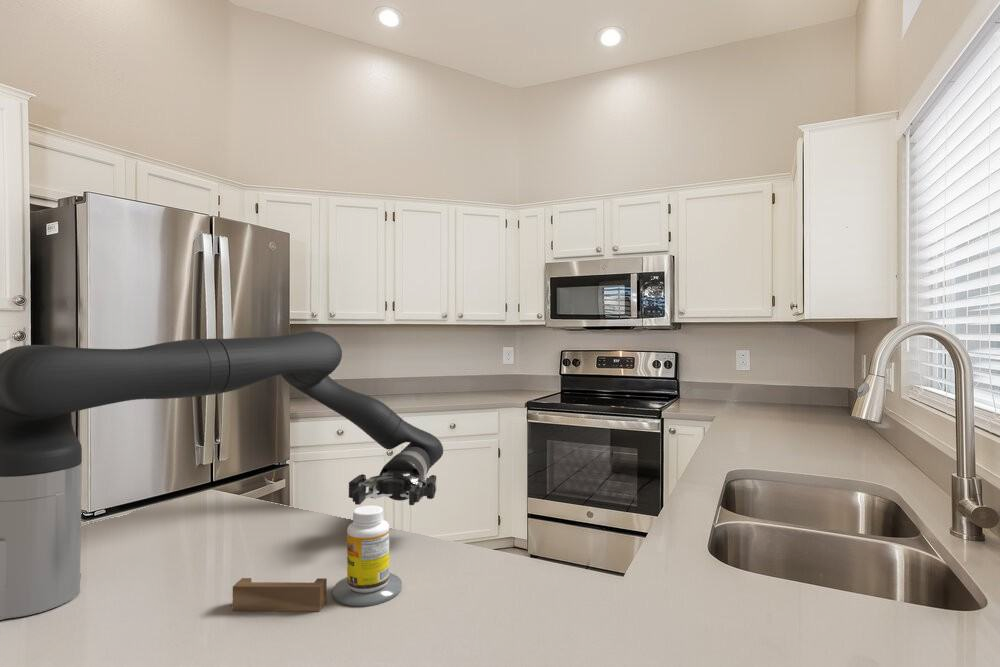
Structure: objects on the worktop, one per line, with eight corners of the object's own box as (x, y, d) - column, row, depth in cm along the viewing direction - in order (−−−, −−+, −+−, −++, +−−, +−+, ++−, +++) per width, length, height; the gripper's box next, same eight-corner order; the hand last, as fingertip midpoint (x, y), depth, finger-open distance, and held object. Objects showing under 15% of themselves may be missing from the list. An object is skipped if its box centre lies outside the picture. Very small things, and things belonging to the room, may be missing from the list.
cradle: (242, 601, 69) (242, 578, 69) (326, 601, 69) (326, 578, 69) (232, 610, 66) (232, 586, 67) (319, 611, 66) (320, 586, 66)
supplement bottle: (346, 579, 74) (346, 505, 74) (387, 573, 76) (387, 501, 76) (347, 597, 69) (347, 518, 69) (391, 591, 70) (391, 513, 70)
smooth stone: (362, 613, 66) (362, 608, 66) (319, 593, 71) (319, 588, 71) (415, 586, 73) (415, 582, 73) (372, 570, 78) (372, 566, 78)
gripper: (367, 453, 100) (339, 474, 83) (442, 454, 99) (429, 475, 83) (366, 493, 99) (338, 522, 83) (442, 494, 99) (429, 523, 83)
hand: (384, 498), depth 83 cm, fingers open, 8 cm apart
